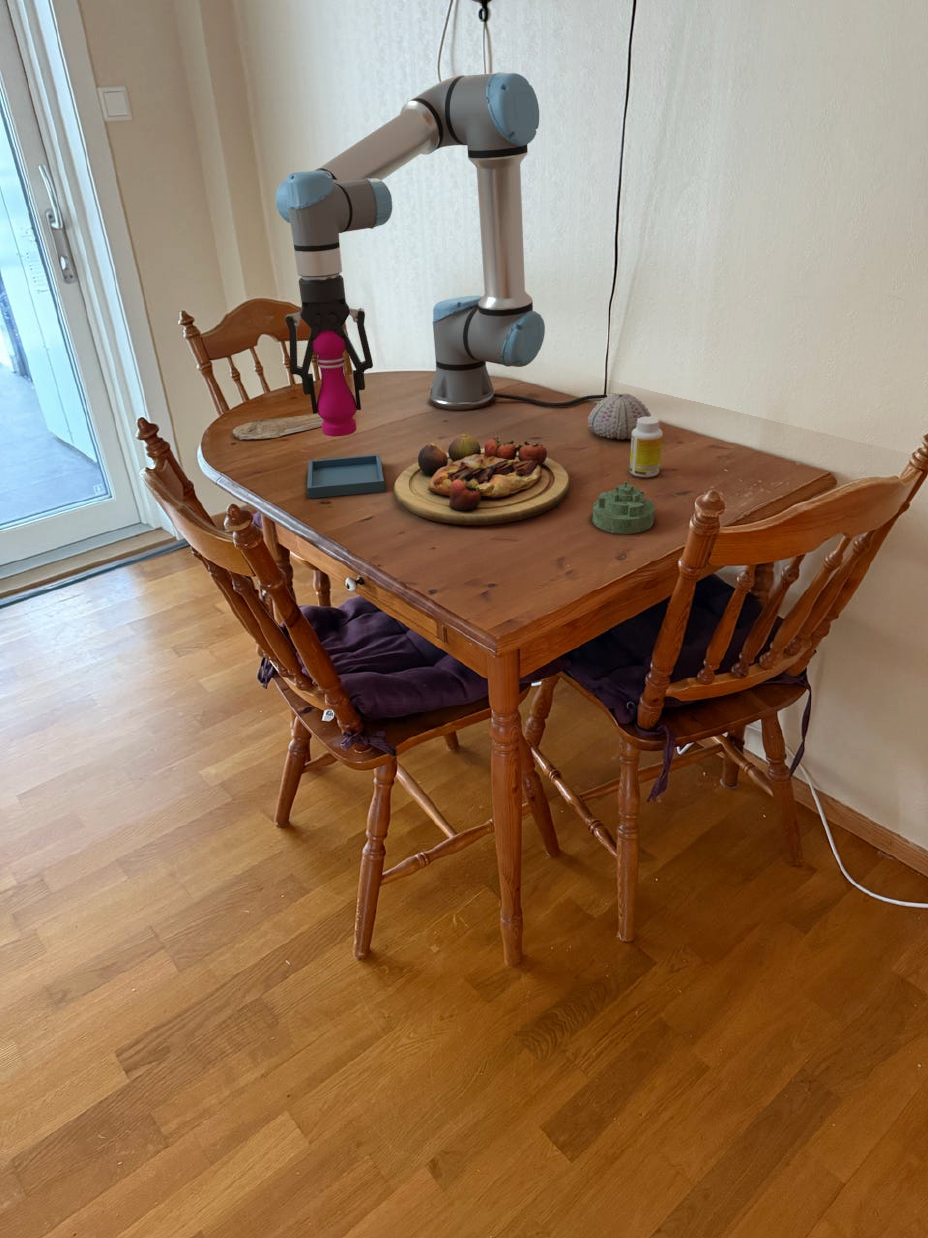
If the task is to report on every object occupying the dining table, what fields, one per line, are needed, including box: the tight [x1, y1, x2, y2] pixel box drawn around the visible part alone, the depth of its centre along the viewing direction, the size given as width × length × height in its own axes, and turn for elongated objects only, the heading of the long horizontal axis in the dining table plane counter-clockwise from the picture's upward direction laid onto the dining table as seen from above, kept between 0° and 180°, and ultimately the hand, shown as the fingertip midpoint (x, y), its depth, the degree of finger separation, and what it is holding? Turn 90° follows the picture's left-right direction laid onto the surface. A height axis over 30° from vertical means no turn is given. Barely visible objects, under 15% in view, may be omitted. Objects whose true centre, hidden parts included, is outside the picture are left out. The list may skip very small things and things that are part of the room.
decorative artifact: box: [592, 480, 656, 535], centre depth 137 cm, size 10×7×10 cm
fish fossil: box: [232, 413, 324, 440], centre depth 187 cm, size 26×10×1 cm, turn 123°
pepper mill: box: [313, 330, 358, 438], centre depth 149 cm, size 7×7×20 cm
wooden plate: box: [393, 433, 571, 526], centre depth 150 cm, size 32×32×8 cm
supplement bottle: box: [629, 416, 664, 479], centre depth 154 cm, size 6×6×10 cm
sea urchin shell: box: [587, 393, 652, 440], centre depth 173 cm, size 13×14×8 cm
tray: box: [306, 453, 386, 500], centre depth 159 cm, size 14×14×2 cm
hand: (337, 409), depth 152 cm, fingers closed on pepper mill, 7 cm apart
